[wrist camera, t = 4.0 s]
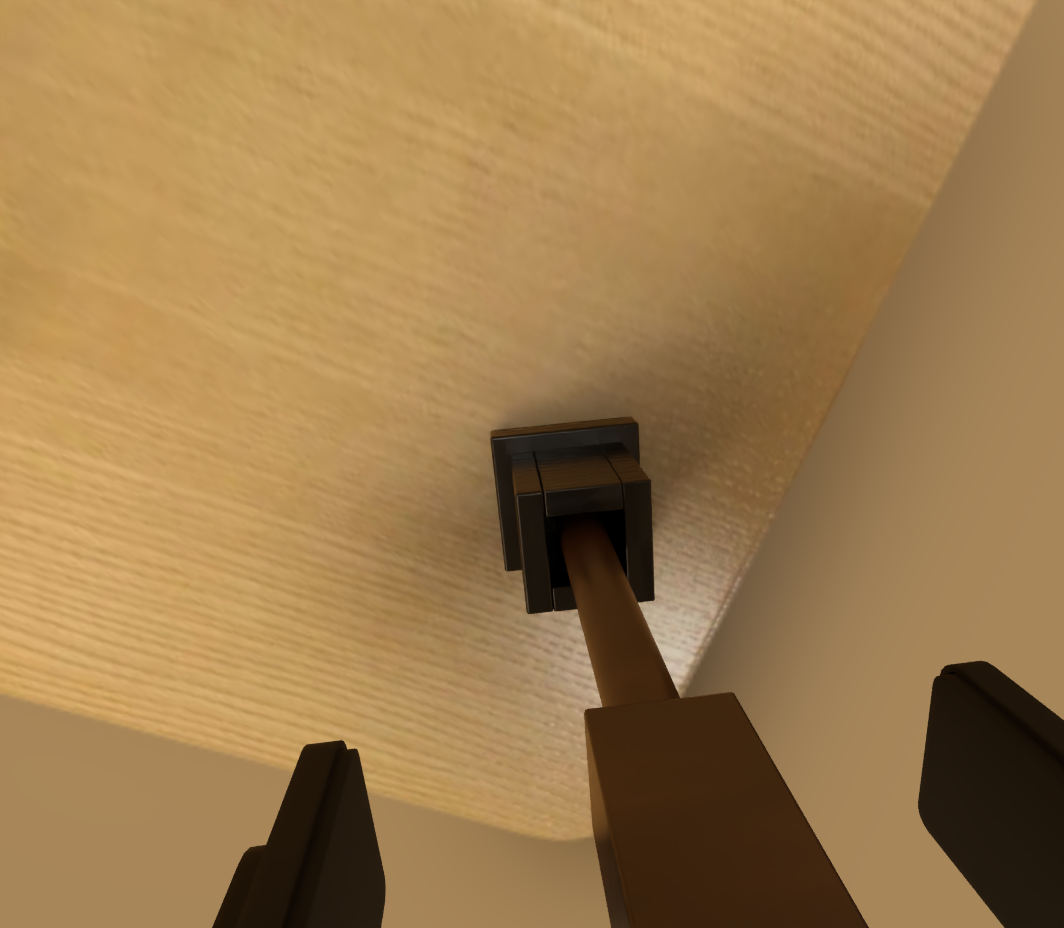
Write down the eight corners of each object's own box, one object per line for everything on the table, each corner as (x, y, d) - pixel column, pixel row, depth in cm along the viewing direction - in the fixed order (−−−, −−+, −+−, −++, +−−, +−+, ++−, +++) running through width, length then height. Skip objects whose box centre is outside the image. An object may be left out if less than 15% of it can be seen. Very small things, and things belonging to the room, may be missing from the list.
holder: (632, 415, 22) (672, 457, 17) (637, 545, 23) (675, 616, 19) (490, 430, 22) (490, 475, 17) (504, 560, 23) (508, 635, 18)
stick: (602, 463, 21) (886, 954, 6) (606, 528, 22) (868, 1112, 7) (532, 470, 21) (642, 987, 6) (538, 535, 22) (650, 1143, 7)
